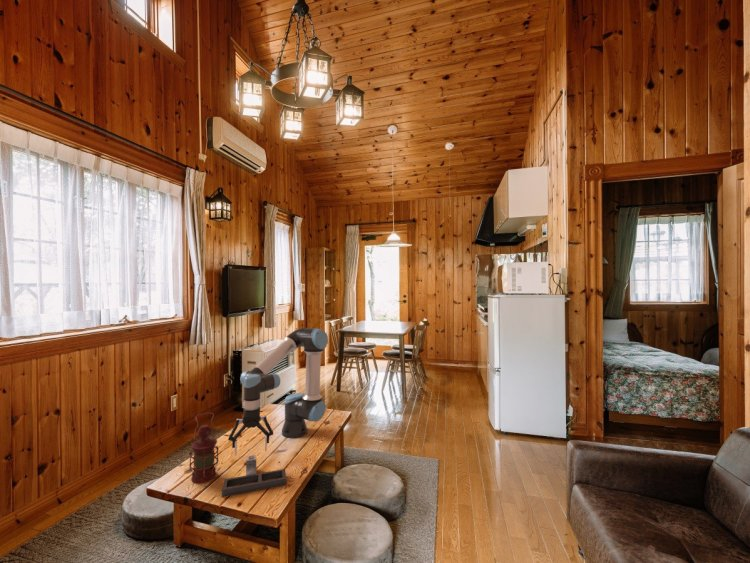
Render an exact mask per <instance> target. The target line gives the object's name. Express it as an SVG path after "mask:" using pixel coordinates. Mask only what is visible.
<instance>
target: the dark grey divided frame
mask: <svg viewBox="0 0 750 563" xmlns="http://www.w3.org/2000/svg"><path fill="white" fill-rule="evenodd" d="M284 486H287V474H286V468H282V469H281V468H280V469H275V470H270V471H265V472H259V473H256V474H252V475H246V474H245V475H240V476H236V477H230V478H225V479H223V484H222V488H221V489H222V490H221V498H226V497H230V496H236V495H241V494H248V493H252V492H256V491H263V490H268V489H273V488H278V487H284Z"/></svg>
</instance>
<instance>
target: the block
mask: <svg viewBox="0 0 750 563" xmlns="http://www.w3.org/2000/svg"><path fill="white" fill-rule="evenodd" d="M245 468H246V469H245V471H246V472H245V476H246V475H252V474H257V454H254V455H248V456H246V461H245Z"/></svg>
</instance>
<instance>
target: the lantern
mask: <svg viewBox="0 0 750 563" xmlns="http://www.w3.org/2000/svg"><path fill="white" fill-rule="evenodd" d="M206 414H209V412H204V413H199V414H197V415H195V417H194V418H195V421H196V422H197V425H196V427H195V429H194V438H193V441H194V442H193V443H191V447H190V448H191V449H192V450H190V452H189V470H190V471H191V479H190V480H191V482H192V483H194V484H204V483H208V482H210V481H212V480H213V479H215V478H216V476H217V471H216V467H217V466H218V463H219V446H218V445H216V444H218V440H217V439H216V438H215V437H216V436H215V433H216V431H215V427H214V424H213V423H212V422H213V419H214V416H215V414H214V413H213V412H210V414H211V415H212V418H211V420H210V424H211V426H212V427H213V433H212V429H211V427H210V425H208V424H202V425H200V427H199V421H198V419H197V417H198V416H200V415H201V416H202V415H206ZM198 427H199V429H198ZM197 429H198V431H197ZM196 431H197V435H198V437H200V439H198V437H197V436H196ZM211 433H212V434H211ZM210 435H211V436H213V437H209V436H210ZM215 449H216V451H215ZM192 454H193V456H192ZM192 460H193V461H192ZM215 460H216V462H215ZM192 465H193V467H192Z"/></svg>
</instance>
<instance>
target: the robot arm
mask: <svg viewBox="0 0 750 563" xmlns="http://www.w3.org/2000/svg"><path fill="white" fill-rule="evenodd" d="M282 341H283V342H281V343H280V344H279V345H278V346H276V348H275V349H273V350H272V351H271V352H270V353H269V354H268V355H267V356H265V357H264V358H263V359H262V360H261V361H260V362H259V363H257V365H256V366H254V367H253V368H251V370H245V371H243V372H242V373H241V374H240V377H239V378H240V379H239V380H240V384H242V385H243V411H242V412H243V416H242V418H236V421H235V424H234V427H233V428H232V430H231V432H230V434H229V436H228V441H231V442H232V444H231V447H232V449H234V456H237V454H238V453H237V452H238V450H237V449H238V438H239V436H241V434H242V433H243V431H244V430H246V428H247V429H251V428H256V427H257V428H258V429H259V430H260V431H261V432H262V433H263V434H264V452H267V449H268V448H267V446H268V445H267V444H269V443H270V437H271V436H273V435H274V431H273V429H272V427H271V425H270V424H269V420H268V419H267V415H264V416H261V393H264V392H268V391H271V390H272V391H273V390H274V389H277V388H279V387H280V386H281V378H280V375H279V374H278V373H270V372H271V371H272V370H274V368H276V366H277V365H279V364H280V363H281V362H282V361H283V360H284V359H285V358H286V357H287V356H288V355H289V354H291V352H294V351H296V350H297V349H299V348H301V347H302V348H303V352H304V353H305V355H306V360H305V384H304V386H305V387H304V390H305V391H304V393H301V392H300V393H299V392H298V393H292V394H289V395H287V396H286V397H285V399H284V423H283V424H282V428H281V435H282V436H283V437H285V438H287V439H288V438H290V439H295V438H300V437H303V436H304V435H306V434H307V432H308V427H307V423H306V420H307V421H309V422H314V423H317V422H319V421H320V420H321V419H322V418H323V417H324V415H325V413H326V410H327V409H326V408H327V405H326V403H325V402H324V401H323V396H322V395H321V393H320V391H321V390H320V389H321V362H322V361H321V360H322V353H323V352H324V350H325V349H326V348H327V345H328V342H329V338H328V334H327V332H326V331H325V330H323V329H320V328H314V327H300V328H298V329H295V330H293V331H291V333H289V334H288V335H287V336H286V337H284V338H283V340H282ZM269 373H270V374H269ZM261 421H262V422H264V425H265V427H266V428H267V429H266V428H265V427H264V426H263V425H262V424H261V423H260V422H261ZM241 423H242V424H243V425H242V426H241V427H240V429H238V427H239V425H241ZM237 429H238V431H237ZM236 431H237V432H236ZM235 432H236V433H235Z"/></svg>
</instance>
